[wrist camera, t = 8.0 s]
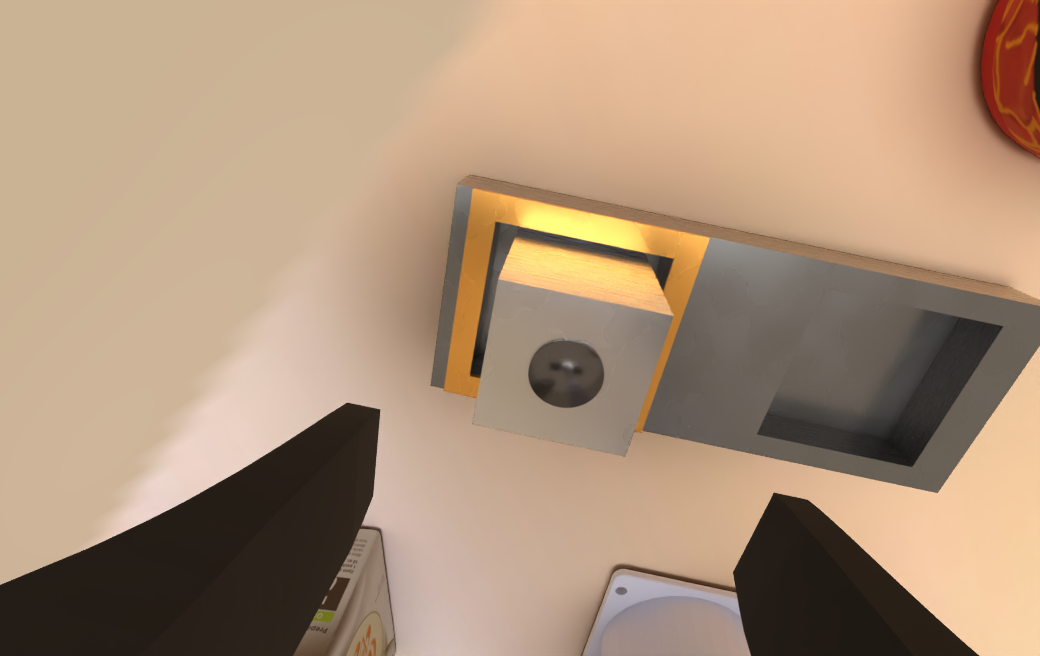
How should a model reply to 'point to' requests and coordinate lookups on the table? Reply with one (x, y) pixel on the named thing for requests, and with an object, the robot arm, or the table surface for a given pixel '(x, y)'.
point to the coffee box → (354, 607)
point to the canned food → (1014, 70)
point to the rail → (769, 336)
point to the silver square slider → (572, 342)
